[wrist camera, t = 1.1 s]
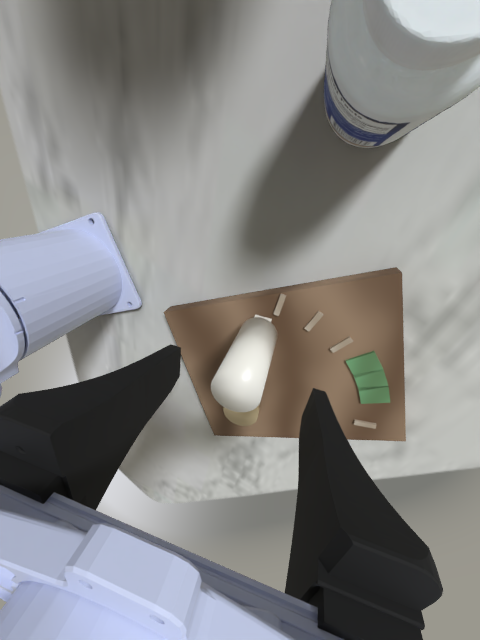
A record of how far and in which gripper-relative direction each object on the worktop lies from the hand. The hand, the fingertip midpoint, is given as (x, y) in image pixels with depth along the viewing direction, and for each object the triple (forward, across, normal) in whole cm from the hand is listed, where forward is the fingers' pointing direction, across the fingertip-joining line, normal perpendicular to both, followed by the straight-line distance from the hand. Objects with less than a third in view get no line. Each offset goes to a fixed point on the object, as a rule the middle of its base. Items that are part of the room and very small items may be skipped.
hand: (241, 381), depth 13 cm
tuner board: (+8, -2, +4) cm, 9 cm away
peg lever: (+6, 0, +4) cm, 7 cm away
